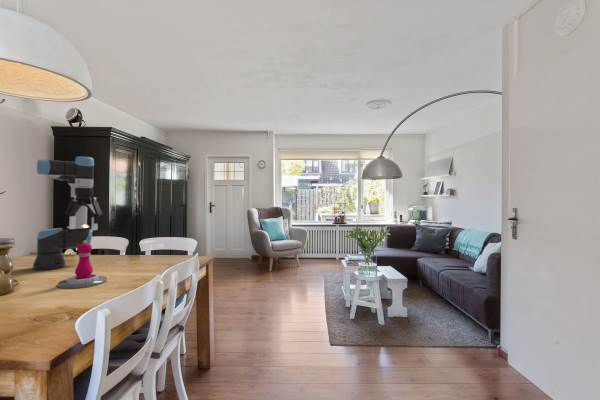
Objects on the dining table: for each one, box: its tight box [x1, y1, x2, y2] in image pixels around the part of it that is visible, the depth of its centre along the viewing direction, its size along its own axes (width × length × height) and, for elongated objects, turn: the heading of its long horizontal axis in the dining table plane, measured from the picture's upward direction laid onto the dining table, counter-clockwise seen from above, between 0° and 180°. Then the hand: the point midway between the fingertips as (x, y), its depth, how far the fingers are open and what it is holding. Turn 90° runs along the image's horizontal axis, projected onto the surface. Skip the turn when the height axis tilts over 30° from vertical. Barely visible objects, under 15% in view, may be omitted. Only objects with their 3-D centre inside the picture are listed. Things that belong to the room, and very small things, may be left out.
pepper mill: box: [74, 240, 94, 280], centre depth 149 cm, size 7×7×20 cm
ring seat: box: [57, 273, 108, 290], centre depth 149 cm, size 20×20×3 cm
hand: (83, 229), depth 149 cm, fingers open, 13 cm apart
